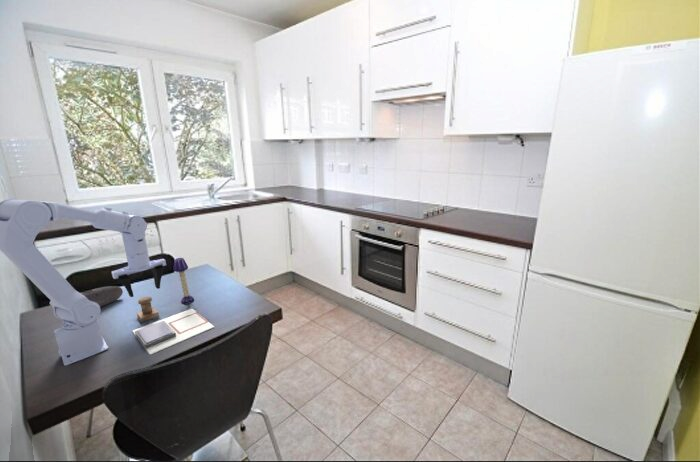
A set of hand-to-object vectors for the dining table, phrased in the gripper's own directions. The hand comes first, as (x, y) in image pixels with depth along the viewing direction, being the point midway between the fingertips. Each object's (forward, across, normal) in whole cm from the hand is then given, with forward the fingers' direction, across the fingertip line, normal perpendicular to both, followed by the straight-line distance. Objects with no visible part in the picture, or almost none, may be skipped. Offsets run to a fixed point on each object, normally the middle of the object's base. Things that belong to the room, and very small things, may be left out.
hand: (144, 291), depth 103 cm
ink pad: (+9, -3, -14) cm, 17 cm away
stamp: (+10, 0, 0) cm, 10 cm away
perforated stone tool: (+10, -9, +23) cm, 26 cm away
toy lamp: (+10, +13, +2) cm, 16 cm away
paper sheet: (+9, +2, -14) cm, 17 cm away
